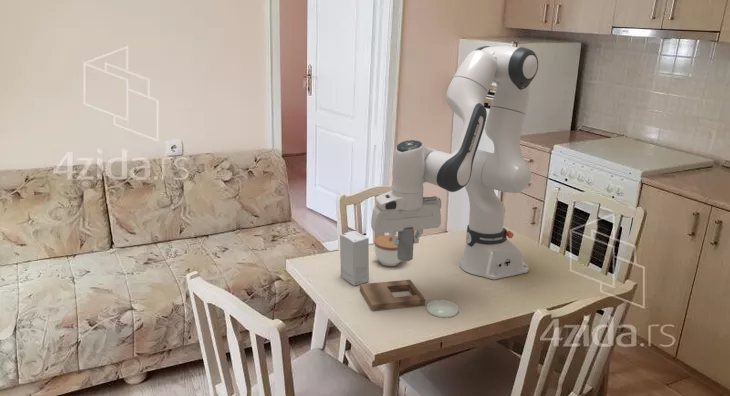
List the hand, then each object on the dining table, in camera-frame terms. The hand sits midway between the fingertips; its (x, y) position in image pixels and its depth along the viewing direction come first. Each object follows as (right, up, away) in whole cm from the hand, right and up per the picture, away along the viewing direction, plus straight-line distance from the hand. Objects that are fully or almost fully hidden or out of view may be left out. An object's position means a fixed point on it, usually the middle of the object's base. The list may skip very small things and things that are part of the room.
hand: (405, 243), depth 172 cm
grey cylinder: (0, -5, +2) cm, 5 cm away
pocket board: (-4, -16, +4) cm, 17 cm away
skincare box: (-15, -13, +15) cm, 25 cm away
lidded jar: (-3, -9, +28) cm, 30 cm away
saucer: (+10, -19, -2) cm, 22 cm away
